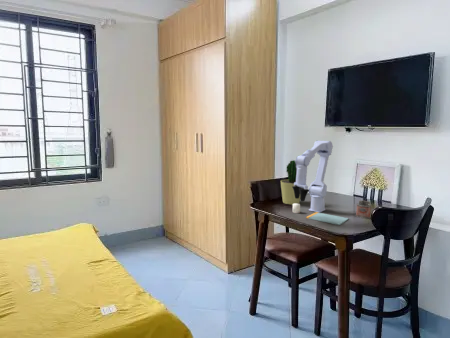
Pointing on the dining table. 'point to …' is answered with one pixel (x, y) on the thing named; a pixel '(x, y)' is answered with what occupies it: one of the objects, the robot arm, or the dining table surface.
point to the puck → (296, 208)
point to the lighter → (363, 209)
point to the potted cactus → (289, 185)
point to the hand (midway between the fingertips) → (299, 199)
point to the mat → (327, 218)
